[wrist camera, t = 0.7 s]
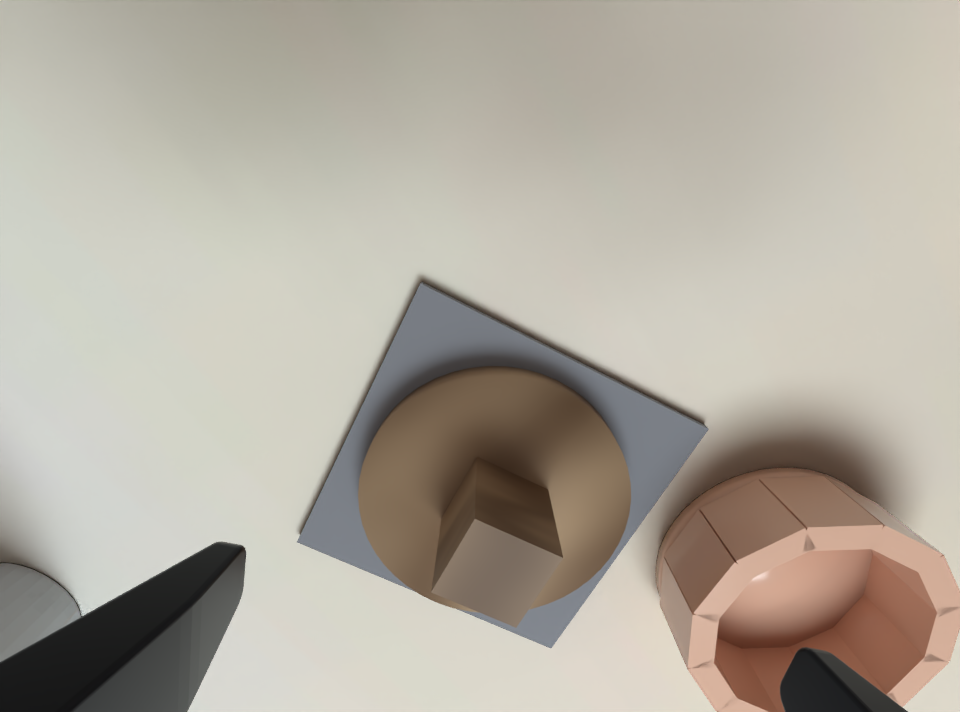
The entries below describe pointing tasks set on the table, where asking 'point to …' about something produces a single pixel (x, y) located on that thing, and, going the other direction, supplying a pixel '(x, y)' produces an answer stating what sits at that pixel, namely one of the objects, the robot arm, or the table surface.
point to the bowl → (802, 588)
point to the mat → (488, 342)
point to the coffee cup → (30, 608)
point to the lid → (494, 491)
